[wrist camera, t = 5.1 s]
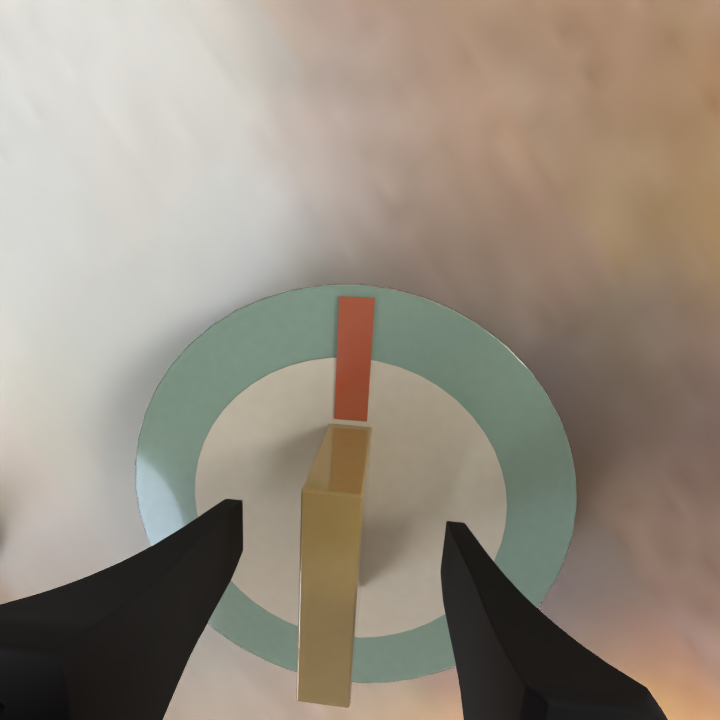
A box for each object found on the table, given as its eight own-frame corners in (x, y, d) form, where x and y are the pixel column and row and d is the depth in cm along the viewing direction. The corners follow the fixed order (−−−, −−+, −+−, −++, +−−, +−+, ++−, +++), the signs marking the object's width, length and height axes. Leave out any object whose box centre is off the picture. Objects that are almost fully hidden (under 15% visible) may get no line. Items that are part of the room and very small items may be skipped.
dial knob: (530, 687, 17) (589, 866, 12) (160, 640, 18) (69, 786, 13) (608, 298, 13) (745, 317, 8) (131, 270, 14) (-15, 270, 9)
